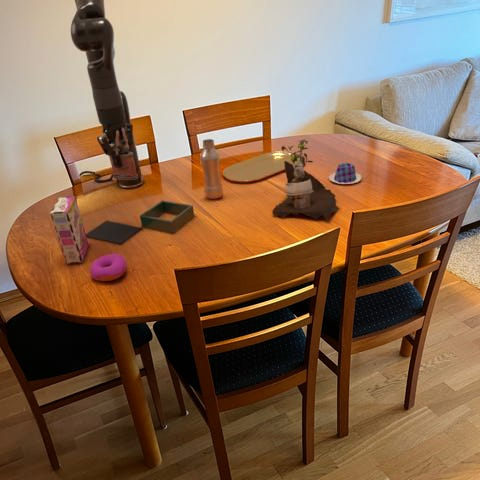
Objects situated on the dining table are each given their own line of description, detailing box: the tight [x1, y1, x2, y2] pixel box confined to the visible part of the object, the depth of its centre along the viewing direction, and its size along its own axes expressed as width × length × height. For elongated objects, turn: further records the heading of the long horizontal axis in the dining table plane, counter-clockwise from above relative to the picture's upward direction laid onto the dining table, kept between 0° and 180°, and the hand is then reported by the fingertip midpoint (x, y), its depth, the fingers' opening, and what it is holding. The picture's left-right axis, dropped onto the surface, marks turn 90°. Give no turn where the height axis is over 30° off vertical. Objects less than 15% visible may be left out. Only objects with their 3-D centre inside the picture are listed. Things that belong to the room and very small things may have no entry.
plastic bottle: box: [199, 138, 224, 200], centre depth 160 cm, size 6×7×20 cm
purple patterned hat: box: [328, 162, 363, 185], centre depth 169 cm, size 12×12×5 cm
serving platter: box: [222, 151, 300, 184], centre depth 184 cm, size 19×35×2 cm, turn 128°
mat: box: [86, 220, 143, 246], centre depth 150 cm, size 15×11×1 cm
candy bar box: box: [49, 195, 90, 265], centre depth 135 cm, size 11×5×16 cm, turn 5°
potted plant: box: [272, 138, 339, 221], centre depth 151 cm, size 20×19×25 cm
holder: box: [139, 199, 195, 234], centre depth 152 cm, size 13×13×4 cm
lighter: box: [107, 144, 138, 180], centre depth 137 cm, size 8×3×10 cm, turn 72°
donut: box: [89, 253, 128, 282], centre depth 129 cm, size 10×10×5 cm
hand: (122, 164), depth 138 cm, fingers closed on lighter, 3 cm apart
